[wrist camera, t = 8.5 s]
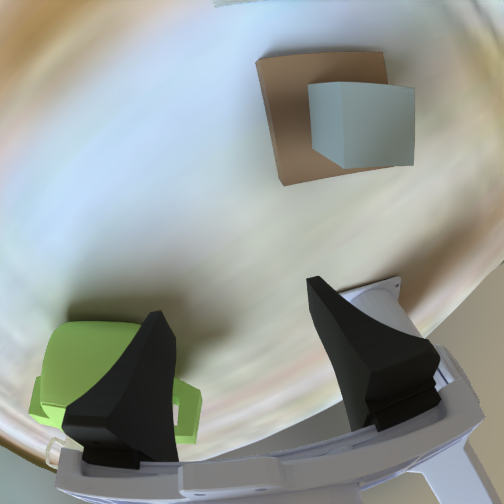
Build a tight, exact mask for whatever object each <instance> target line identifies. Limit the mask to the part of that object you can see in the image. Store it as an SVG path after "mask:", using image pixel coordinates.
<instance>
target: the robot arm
mask: <svg viewBox="0 0 504 504" xmlns="http://www.w3.org/2000/svg"><path fill="white" fill-rule="evenodd" d="M306 281H307V291H308V301H309V310H310V313H311V316H312V320H313V323H314V326H315V328H316V331H317V333H318V335H319V337H320V339H321V341H322V344H323V346H324V348H325V350H326V352H327V354H328V357H329V359H330V361H331V363H332V366H333V368H334V371H335V374H336V377H337V381H338V384H339V387H340V390H341V394H342V397H343V401H344V404H345V408H346V411H347V415H348V419H349V423H350V427H351V431H352V432H351V433H348V434H345V435H341V436H338V437H335V438H331V439H328V440H324V441H321V442H317V443H313V444H309V445H305V446H301V447H296V448H292V449H288V450H282V451H277V452H272V453H266V454H260V455H254V456H247V457H240V458H231V459H222V460H210V461H194V462H179V459H178V453H177V448H176V440H175V433H174V422H173V404H172V396H173V383H174V373H175V363H176V338H175V336H174V334H173V332H172V330H171V329H170V327H169V325H168V323H167V321H166V319H165V317H164V315H163V314H162V312H161V311H155V312H150V313H149V315H148V316H147V318H146V319H145V321H144V322H143V324H142V325H141V327H140V328H139V330H138V332H137V333H136V335H135V336H134V338H133V339H132V341H131V342H130V344H129V345H128V346H127V348H126V349H125V351H124V352H123V353H122V355H121V356H120V358H119V359H118V360H117V361H116V363H115V364H114V365H113V366H112V367H111V369H110V370H109V371H108V372H107V373H106V374H105V375H104V376H103V377H102V378H101V379H100V380H99V381H98V382H97V383H96V384H95V385H94V386H93V387H92V388H90V389H89V390H88V391H87V392H86V393H84V394H83V395H82V396H81V397H79V398H78V399H76V400H75V401H74V402H72V403H71V404H69V405H68V406H66V410H65V413H64V417H63V421H62V425H61V428H62V430H63V432H64V433H65V434H66V435H67V436H69V437H70V438H71V439H73V440H74V441H76V442H77V443H79V444H80V445H82V446H83V447H84V449H83V452H82V451H79V450H75V449H69V448H64V447H63V448H61V453H60V458H59V463H58V469H57V475H56V482H55V488H57V489H59V490H61V491H63V492H65V493H67V494H70V495H72V496H74V497H77V498H79V499H81V500H84V501H87V502H91V503H95V504H363V500H362V497H361V494H360V491H363V490H365V489H368V488H370V487H373V486H376V485H378V484H380V483H383V482H385V481H387V480H389V479H392V478H394V477H396V476H398V475H401V474H403V473H405V472H417V473H422V474H423V475H424V477H425V479H426V480H427V482H428V484H429V485H430V487H431V489H432V490H433V492H434V494H435V495H436V497H437V499H438V500H439V502H440V504H502V503H501V500H500V498H499V496H498V494H497V492H496V490H495V488H494V486H493V484H492V483H491V480H490V478H489V477H488V475H487V473H486V471H485V469H484V467H483V466H482V464H481V462H480V460H479V459H478V457H477V455H476V453H475V452H474V450H473V448H472V446H471V445H470V443H469V441H468V438H469V436H470V434H471V432H472V431H473V430H474V429H475V428H476V427H477V426H478V425H479V424H480V423H482V421H484V419H485V417H486V416H485V414H484V413H483V411H482V409H481V407H480V405H479V404H480V401H479V398H478V396H477V394H476V393H475V391H474V390H473V387H472V385H471V383H470V381H469V379H468V377H467V376H466V374H465V372H464V371H463V369H462V368H461V366H460V365H459V363H458V362H457V361H456V359H455V358H454V357H453V356H452V354H451V353H450V352H449V351H448V349H447V348H446V347H445V346H443V345H436V344H434V345H432V344H431V343H430V341H429V340H428V339H424V338H423V337H422V336H421V334H420V333H419V331H418V330H417V328H416V327H415V325H414V324H413V322H412V321H411V320H410V318H409V317H408V315H407V314H406V312H405V311H404V310H403V308H402V307H401V305H400V304H399V303H398V298H399V292H400V286H401V278H400V277H399V276H396V277H393V278H390V279H387V280H383V281H380V282H377V283H373V284H370V285H367V286H363V287H360V288H356V289H353V290H349V291H345V292H342V293H337V292H336V291H335V290H334V289H333V288H332V287H331V286H330V285H329V284H327V283H326V282H325V281H324V280H323V279H322V278H321V277H320V276H315V277H311V278H307V279H306ZM396 284H397V285H396Z"/></svg>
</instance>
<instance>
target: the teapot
mask: <svg viewBox="0 0 504 504" xmlns="http://www.w3.org/2000/svg"><path fill="white" fill-rule="evenodd" d="M140 327H141V325H140V324H135V323H126V322H108V321H73V322H66V323H64V324H63V325H61V326H60V327H59V328H57V329H56V330H55V331H54V332H53V334H52V336H51V338H50V340H49V343H48V346H47V349H46V352H45V356H44V360H43V365H42V373H41V376H39V377H36V381H35V385H34V389H33V394H32V398H31V403H30V408H29V414H30V415H31V416H32V417H33V418H34V419H35V420H36V421H37V422H38V423H41V424H45V425H49V426H53V427H57V428H59V429H60V430H62V428H61V425H62V421H63V417H64V413H65V410H66V406H68V405H69V404H71V403H72V402H74V401H75V400H76V399H78V398H79V397H81V396H82V395H83V394H84V393H86V392H87V391H88V390H89V389H90V388H92V387H93V386H94V385H95V384H96V383H97V382H98V381H99V380H100V379H101V378H102V377H103V376H104V375H105V374H106V373H107V372H108V371H109V370H110V369H111V367H112V366H113V365H114V364H115V363H116V361H117V360H118V359H119V358H120V356H121V355H122V353H123V352H124V351H125V349H126V348H127V346H128V345H129V344H130V342H131V341H132V339H133V338H134V336H135V335H136V333H137V332H138V330H139V328H140ZM173 403H174V404H176V405H178V406H179V412H178V424H177V426H174V433H175V440H176V443H178V444H196V438H197V431H198V425H199V419H200V412H201V406H202V396H201V392H200V390H199V389H197V388H195V387H193V386H191V385H189V384H187V383H185V382H183V381H181V380H179V379H177V378H175V377H174V383H173V396H172V404H173ZM62 431H63V430H62ZM72 440H73V439H72ZM75 442H76V441H75ZM78 444H79V443H78ZM79 445H80V444H79ZM81 446H82V445H81ZM83 449H84V447H83Z"/></svg>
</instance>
